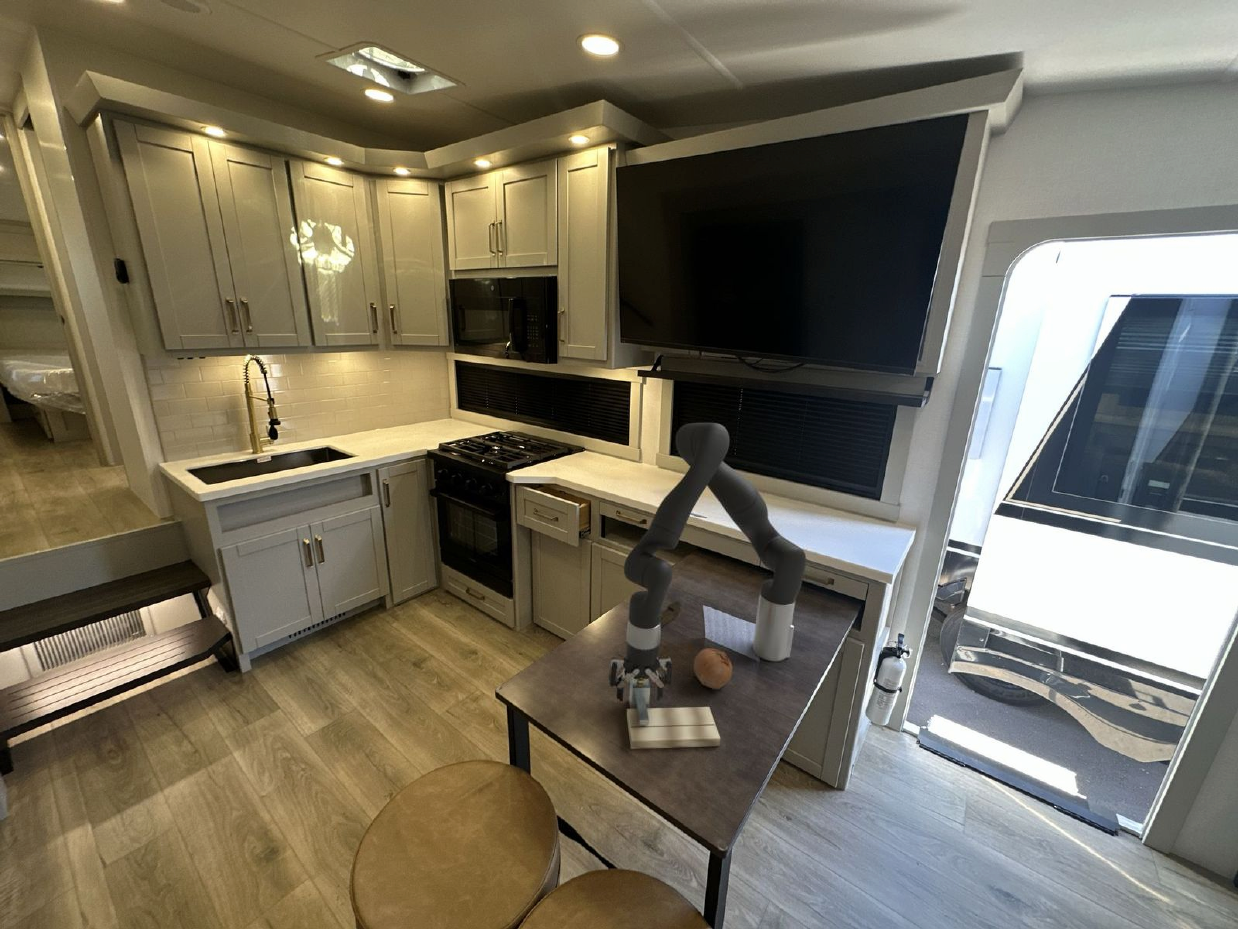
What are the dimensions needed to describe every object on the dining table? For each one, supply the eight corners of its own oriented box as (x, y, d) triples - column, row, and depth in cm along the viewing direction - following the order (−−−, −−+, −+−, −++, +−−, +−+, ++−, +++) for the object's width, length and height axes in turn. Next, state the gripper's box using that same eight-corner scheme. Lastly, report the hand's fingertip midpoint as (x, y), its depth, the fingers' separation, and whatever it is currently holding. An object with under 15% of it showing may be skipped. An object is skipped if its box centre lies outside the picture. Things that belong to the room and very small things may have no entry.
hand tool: (648, 641, 139) (650, 627, 138) (638, 635, 142) (639, 621, 141) (687, 616, 153) (688, 603, 152) (676, 610, 155) (678, 597, 154)
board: (708, 714, 113) (709, 706, 113) (719, 746, 104) (720, 738, 104) (626, 716, 111) (627, 708, 111) (631, 749, 103) (631, 741, 102)
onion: (724, 692, 125) (746, 664, 122) (706, 702, 117) (729, 672, 115) (698, 662, 130) (719, 635, 127) (679, 670, 123) (701, 641, 120)
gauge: (645, 700, 116) (647, 672, 114) (652, 734, 107) (654, 704, 105) (629, 701, 116) (630, 673, 114) (634, 734, 106) (636, 705, 104)
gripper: (671, 627, 114) (666, 686, 118) (610, 628, 112) (607, 687, 116) (677, 647, 106) (672, 710, 111) (612, 648, 105) (609, 711, 109)
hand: (638, 698), depth 114 cm, fingers open, 8 cm apart
